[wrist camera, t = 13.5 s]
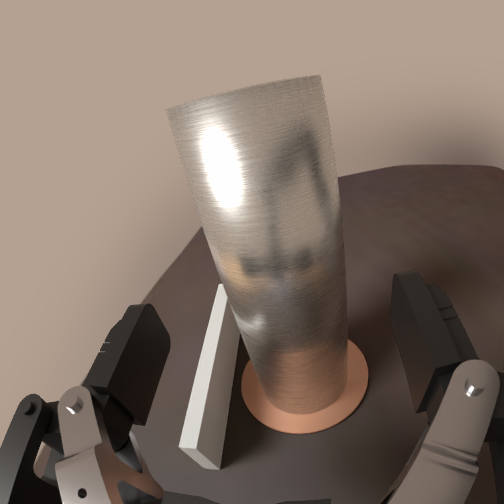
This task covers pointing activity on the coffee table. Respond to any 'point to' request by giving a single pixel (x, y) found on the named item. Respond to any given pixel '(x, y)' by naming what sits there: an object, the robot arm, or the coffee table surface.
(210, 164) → the metal tin
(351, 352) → the terracotta coaster
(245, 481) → the coffee table surface
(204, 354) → the acrylic wall
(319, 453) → the coffee table surface
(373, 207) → the coffee table surface
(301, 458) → the coffee table surface
